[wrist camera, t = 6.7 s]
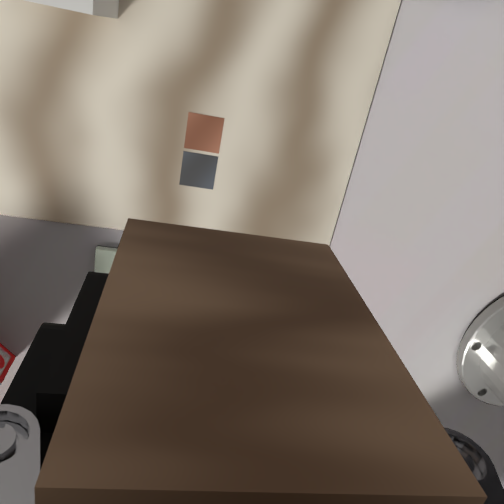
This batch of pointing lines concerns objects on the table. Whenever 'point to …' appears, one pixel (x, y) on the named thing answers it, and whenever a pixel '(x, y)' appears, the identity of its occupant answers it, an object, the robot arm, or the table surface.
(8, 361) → the stack of blocks
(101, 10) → the pale grey block
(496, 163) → the table surface
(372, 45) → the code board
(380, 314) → the table surface
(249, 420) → the walnut block
